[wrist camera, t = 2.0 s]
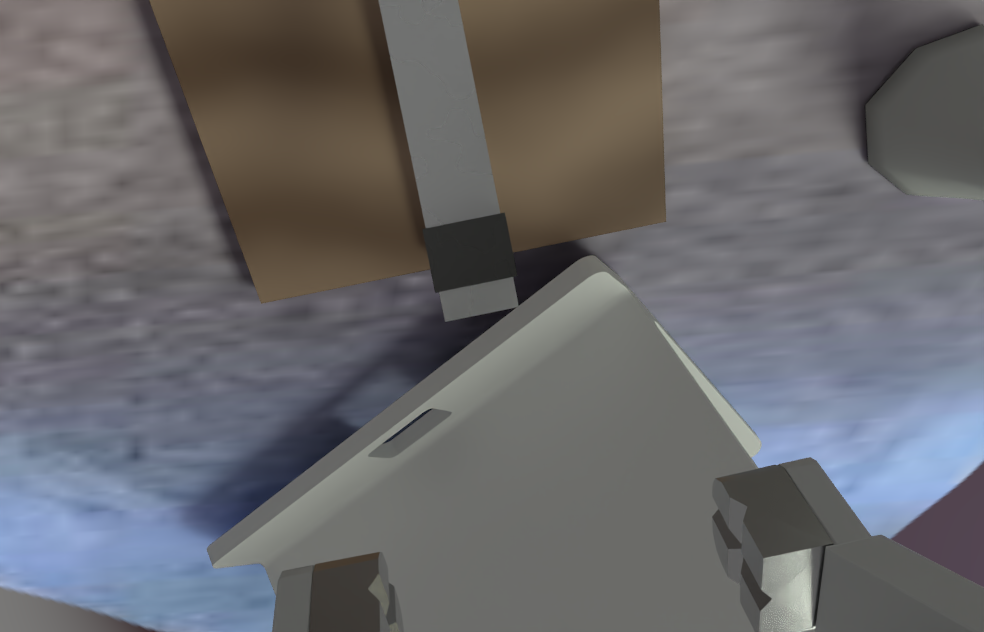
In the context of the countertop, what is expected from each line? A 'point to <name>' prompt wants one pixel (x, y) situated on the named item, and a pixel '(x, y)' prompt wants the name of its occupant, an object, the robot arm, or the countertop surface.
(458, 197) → the upper tong arm
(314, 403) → the countertop surface
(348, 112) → the walnut board
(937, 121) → the flask
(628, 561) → the tablet stand
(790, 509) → the robot arm
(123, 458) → the countertop surface
